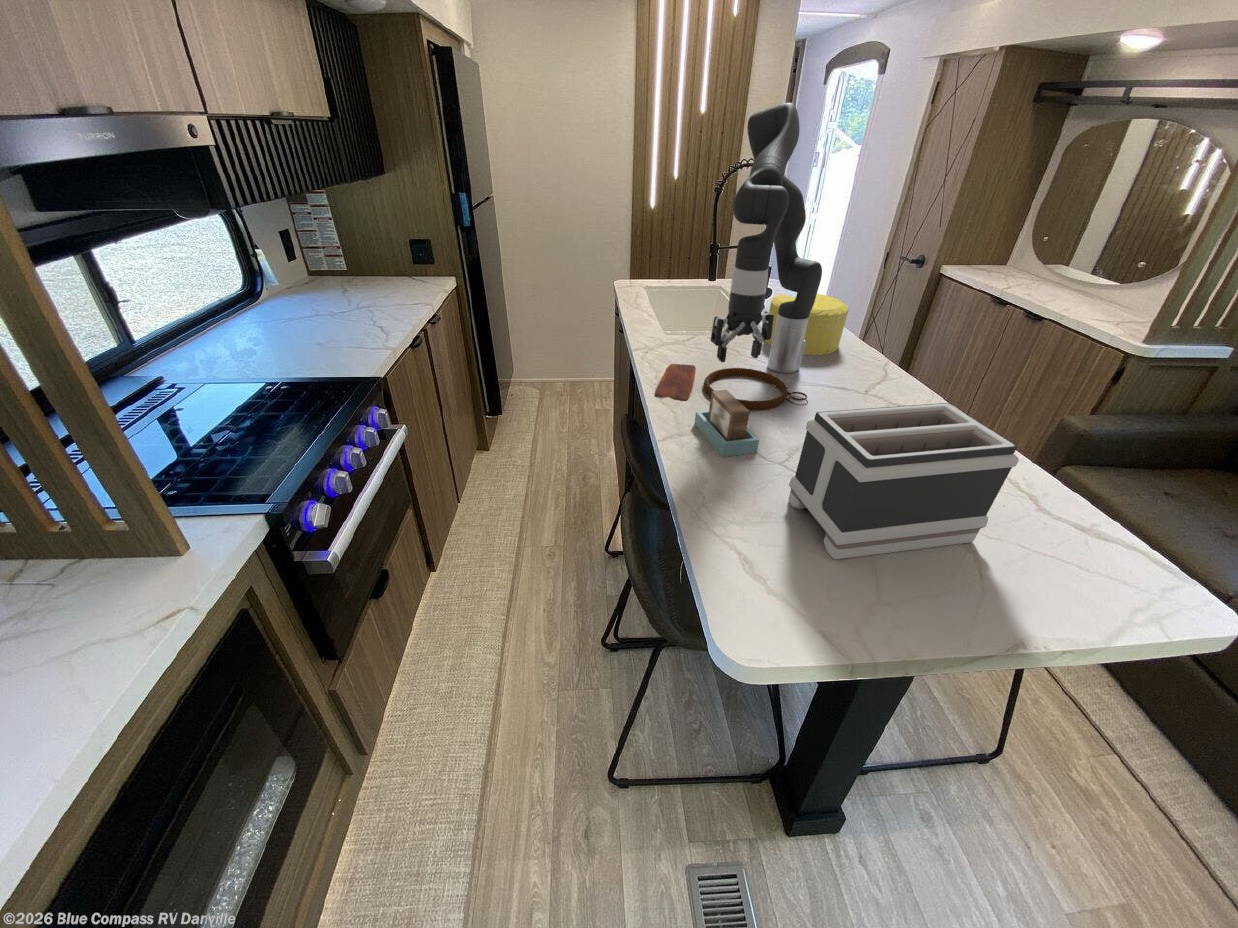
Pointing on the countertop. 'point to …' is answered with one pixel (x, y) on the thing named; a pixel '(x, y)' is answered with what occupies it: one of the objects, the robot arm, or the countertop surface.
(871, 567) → the countertop surface
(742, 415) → the picture frame
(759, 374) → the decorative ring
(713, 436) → the light blue rectangular tray
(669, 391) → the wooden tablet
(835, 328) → the cheese
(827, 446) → the toaster
